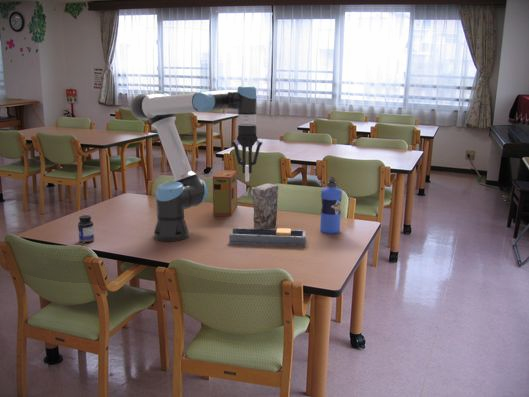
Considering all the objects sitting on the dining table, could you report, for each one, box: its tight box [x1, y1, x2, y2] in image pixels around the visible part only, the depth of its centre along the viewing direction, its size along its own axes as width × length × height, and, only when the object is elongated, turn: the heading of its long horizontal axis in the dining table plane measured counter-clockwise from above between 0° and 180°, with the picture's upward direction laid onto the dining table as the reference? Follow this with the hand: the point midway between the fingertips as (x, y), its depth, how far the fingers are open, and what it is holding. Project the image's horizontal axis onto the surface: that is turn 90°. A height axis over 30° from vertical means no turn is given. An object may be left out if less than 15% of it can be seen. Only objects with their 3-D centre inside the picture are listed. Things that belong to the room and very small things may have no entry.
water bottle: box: [319, 176, 343, 235], centre depth 243 cm, size 9×9×25 cm
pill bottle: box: [77, 214, 95, 243], centre depth 228 cm, size 6×6×11 cm
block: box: [276, 227, 292, 236], centre depth 230 cm, size 6×6×4 cm
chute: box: [228, 227, 307, 248], centre depth 230 cm, size 32×12×4 cm, turn 85°
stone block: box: [252, 182, 279, 229], centre depth 248 cm, size 13×7×20 cm, turn 151°
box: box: [212, 169, 238, 217], centre depth 274 cm, size 17×9×20 cm, turn 172°
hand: (247, 180), depth 225 cm, fingers closed
